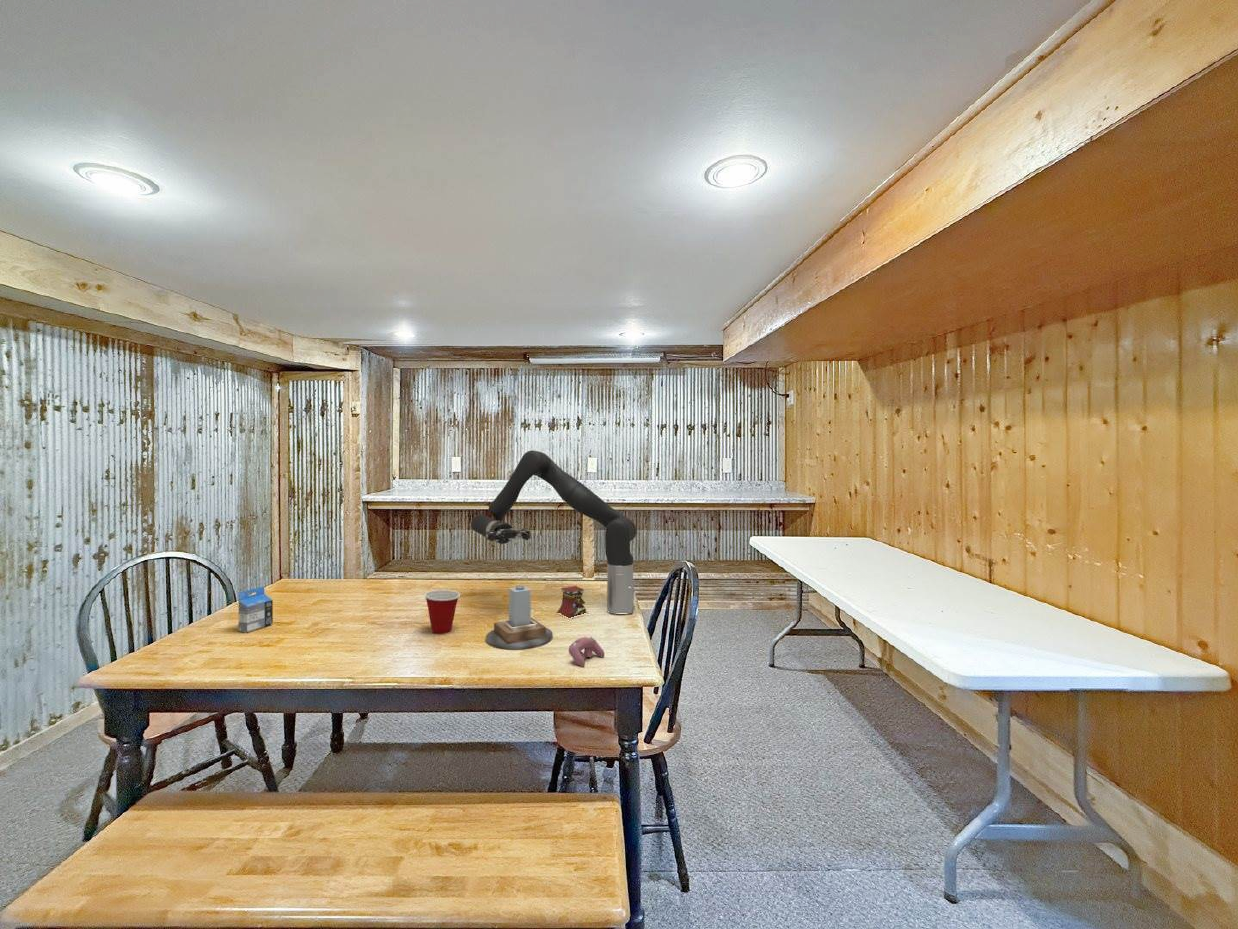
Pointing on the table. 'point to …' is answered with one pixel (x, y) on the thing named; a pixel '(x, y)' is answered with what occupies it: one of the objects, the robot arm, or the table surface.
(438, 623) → the plastic cup
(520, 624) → the slate block
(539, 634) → the tower base
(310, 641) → the table surface
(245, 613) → the ink cartridge box
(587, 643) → the purple curved piece
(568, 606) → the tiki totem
